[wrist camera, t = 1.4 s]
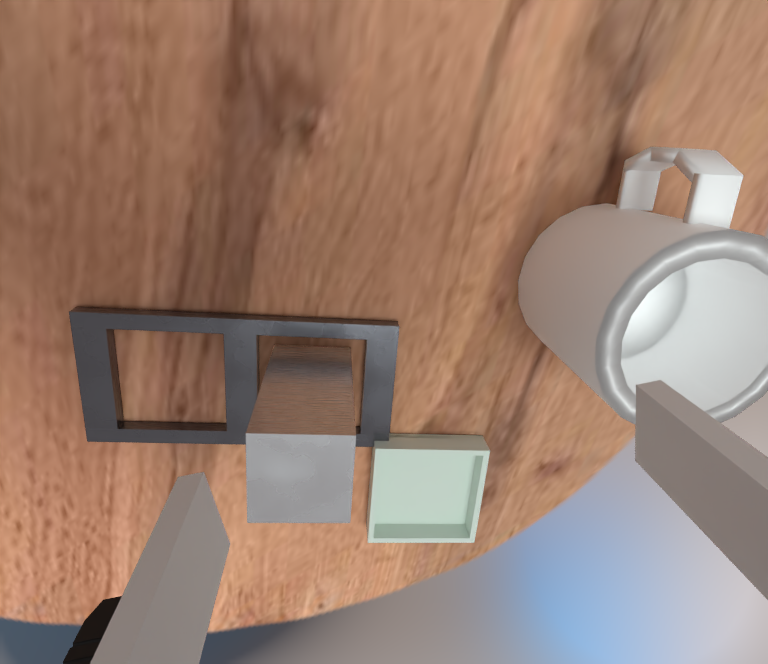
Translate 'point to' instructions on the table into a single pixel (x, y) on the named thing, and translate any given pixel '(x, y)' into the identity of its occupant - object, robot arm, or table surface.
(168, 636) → the robot arm
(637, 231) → the mug
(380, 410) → the double window frame
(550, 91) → the table surface
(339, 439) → the grey rectangular block
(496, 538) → the table surface
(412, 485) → the tray
